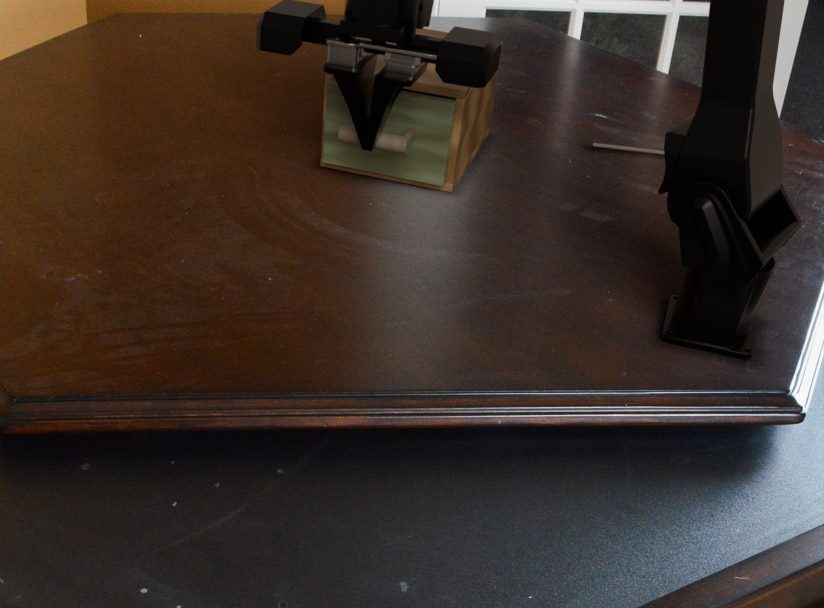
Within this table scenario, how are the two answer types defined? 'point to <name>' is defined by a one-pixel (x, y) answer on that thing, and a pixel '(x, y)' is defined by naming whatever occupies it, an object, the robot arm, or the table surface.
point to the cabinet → (467, 124)
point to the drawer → (394, 137)
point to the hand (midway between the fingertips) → (368, 149)
